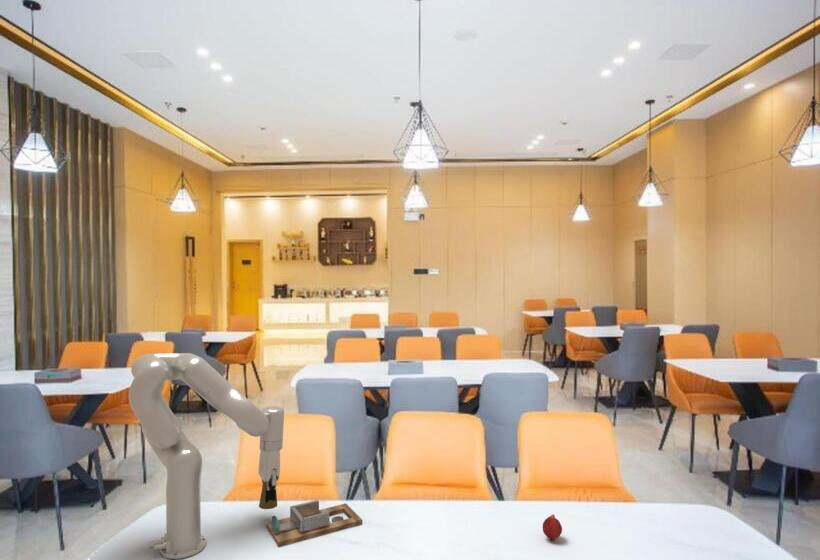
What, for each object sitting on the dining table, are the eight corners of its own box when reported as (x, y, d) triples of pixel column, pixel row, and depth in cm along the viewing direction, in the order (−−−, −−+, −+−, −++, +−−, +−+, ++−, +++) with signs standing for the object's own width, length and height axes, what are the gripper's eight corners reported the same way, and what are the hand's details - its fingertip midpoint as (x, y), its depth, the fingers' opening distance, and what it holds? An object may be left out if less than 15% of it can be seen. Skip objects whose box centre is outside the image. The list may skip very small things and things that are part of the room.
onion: (548, 546, 154) (548, 519, 154) (539, 536, 160) (539, 511, 160) (565, 543, 156) (565, 517, 156) (555, 534, 161) (555, 509, 161)
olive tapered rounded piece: (280, 502, 173) (281, 470, 173) (273, 510, 167) (275, 476, 167) (263, 501, 173) (264, 468, 173) (255, 508, 167) (257, 474, 167)
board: (278, 547, 154) (278, 542, 154) (266, 527, 166) (266, 522, 166) (362, 524, 168) (362, 519, 168) (345, 507, 180) (345, 503, 180)
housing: (278, 538, 155) (278, 525, 155) (269, 523, 165) (269, 511, 165) (329, 525, 164) (329, 512, 164) (317, 511, 173) (317, 499, 173)
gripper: (254, 438, 176) (251, 491, 175) (266, 452, 161) (263, 510, 161) (275, 436, 179) (273, 488, 179) (289, 450, 165) (286, 506, 165)
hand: (268, 498), depth 170 cm, fingers closed on olive tapered rounded piece, 3 cm apart
